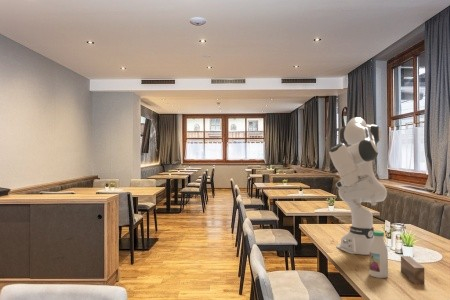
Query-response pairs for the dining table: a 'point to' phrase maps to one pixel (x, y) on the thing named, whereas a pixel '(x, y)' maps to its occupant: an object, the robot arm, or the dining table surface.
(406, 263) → the walnut block
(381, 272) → the milk bottle
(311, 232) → the dining table surface
